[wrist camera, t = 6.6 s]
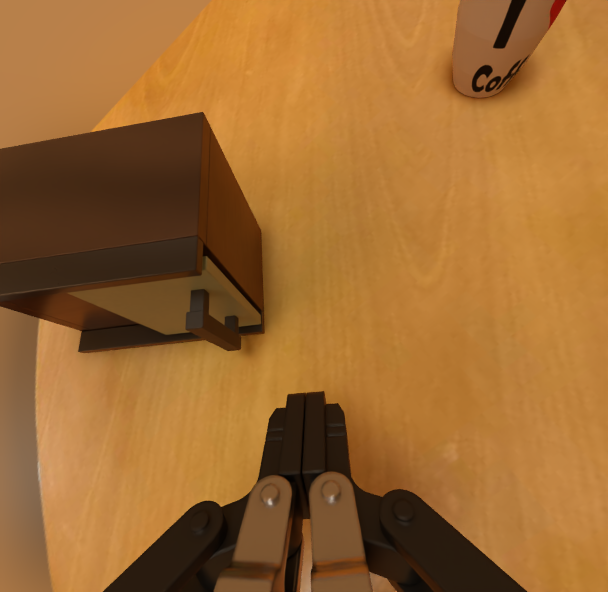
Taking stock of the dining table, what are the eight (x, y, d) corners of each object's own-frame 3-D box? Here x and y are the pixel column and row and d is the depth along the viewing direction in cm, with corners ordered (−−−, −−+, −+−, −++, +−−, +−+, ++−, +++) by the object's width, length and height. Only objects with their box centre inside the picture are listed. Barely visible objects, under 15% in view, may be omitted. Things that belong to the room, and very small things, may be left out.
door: (262, 353, 24) (204, 314, 15) (163, 363, 25) (47, 333, 16) (260, 314, 26) (207, 255, 16) (166, 325, 26) (60, 275, 17)
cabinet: (264, 333, 26) (196, 269, 14) (84, 353, 28) (-110, 310, 16) (261, 230, 29) (203, 111, 18) (100, 253, 31) (-49, 157, 19)
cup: (458, 119, 31) (506, -8, 21) (424, 67, 34) (452, -65, 24) (540, 92, 31) (623, -48, 21) (498, 42, 33) (555, -101, 24)
